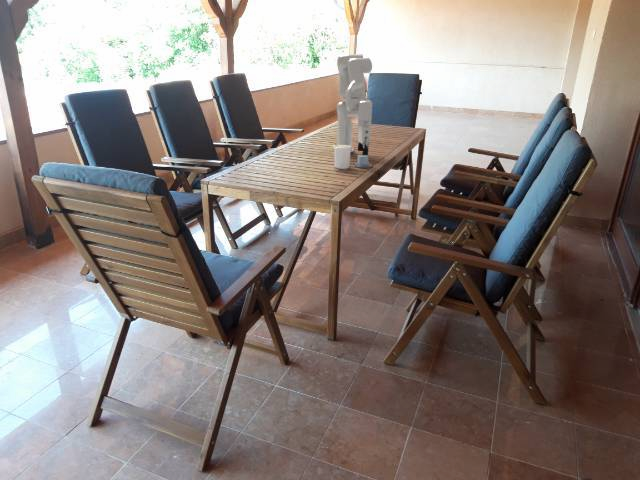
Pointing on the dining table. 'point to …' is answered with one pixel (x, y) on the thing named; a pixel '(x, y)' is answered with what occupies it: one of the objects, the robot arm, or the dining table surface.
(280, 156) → the dining table surface
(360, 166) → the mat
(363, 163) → the letter block
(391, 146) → the dining table surface
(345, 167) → the candle holder
